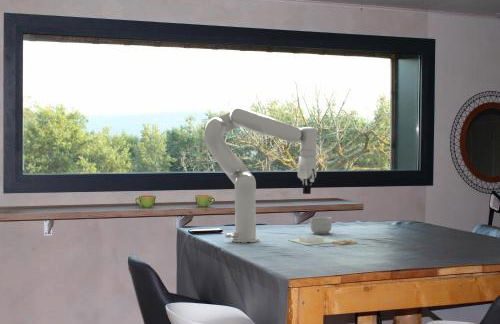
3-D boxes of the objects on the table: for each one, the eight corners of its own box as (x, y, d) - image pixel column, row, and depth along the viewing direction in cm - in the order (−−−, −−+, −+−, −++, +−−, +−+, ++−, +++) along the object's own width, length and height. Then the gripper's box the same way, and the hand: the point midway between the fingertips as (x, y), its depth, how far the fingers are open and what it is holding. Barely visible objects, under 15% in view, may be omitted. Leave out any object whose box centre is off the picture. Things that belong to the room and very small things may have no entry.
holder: (338, 244, 298) (338, 242, 298) (332, 243, 302) (332, 241, 302) (357, 243, 302) (357, 241, 302) (351, 242, 306) (351, 239, 306)
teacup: (324, 235, 328) (324, 219, 328) (305, 233, 335) (305, 217, 335) (338, 232, 339) (338, 216, 339) (320, 230, 346) (320, 215, 346)
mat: (306, 245, 298) (306, 244, 298) (287, 240, 312) (287, 239, 312) (340, 242, 306) (339, 241, 306) (320, 237, 320) (320, 237, 320)
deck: (299, 241, 307) (306, 242, 301) (299, 236, 307) (306, 238, 301) (315, 239, 311) (323, 241, 306) (315, 235, 311) (323, 237, 305)
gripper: (293, 153, 316) (291, 192, 316) (309, 154, 302) (307, 195, 303) (307, 153, 319) (305, 192, 319) (323, 154, 305) (322, 195, 306)
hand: (306, 193), depth 311 cm, fingers closed
